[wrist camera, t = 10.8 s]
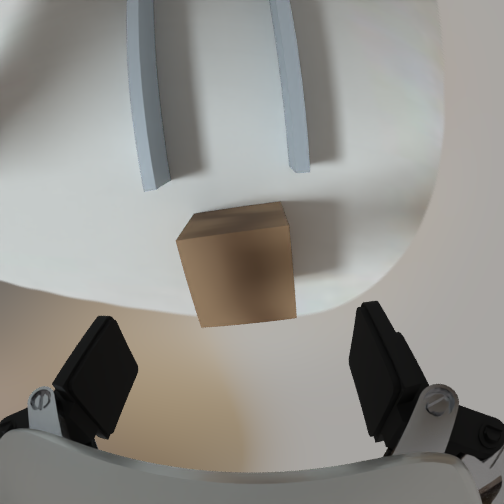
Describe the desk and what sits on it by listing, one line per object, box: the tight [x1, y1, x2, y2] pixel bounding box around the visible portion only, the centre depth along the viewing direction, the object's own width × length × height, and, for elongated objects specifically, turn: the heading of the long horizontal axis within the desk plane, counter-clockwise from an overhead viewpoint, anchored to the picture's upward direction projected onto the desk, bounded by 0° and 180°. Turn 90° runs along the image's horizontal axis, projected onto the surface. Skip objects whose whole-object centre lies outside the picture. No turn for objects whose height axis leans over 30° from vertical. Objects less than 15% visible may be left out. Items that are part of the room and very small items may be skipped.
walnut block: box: [176, 202, 297, 328], centre depth 18 cm, size 6×6×5 cm
